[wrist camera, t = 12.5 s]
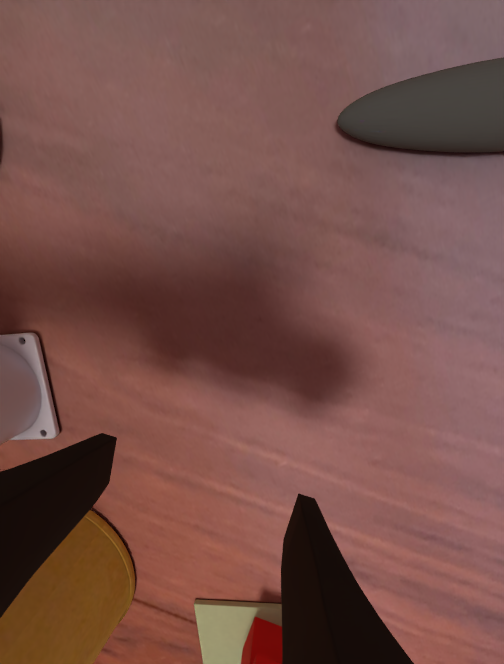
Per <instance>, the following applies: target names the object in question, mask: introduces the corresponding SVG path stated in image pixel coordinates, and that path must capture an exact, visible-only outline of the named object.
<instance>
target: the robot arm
mask: <svg viewBox="0 0 504 664" xmlns="http://www.w3.org/2000/svg"><path fill="white" fill-rule="evenodd" d="M24 339H25V341H26V343H25V342H24ZM45 431H46V432H47V433H46V432H45ZM58 435H59V427H58V423H57V418H56V414H55V409H54V405H53V400H52V396H51V391H50V387H49V382H48V378H47V373H46V369H45V364H44V360H43V355H42V351H41V346H40V342H39V338H38V336H37V335H36V334H35V333H19V334H6V335H0V445H1V444H3V443H5V442H7V441H8V440H24V439H53V438H55V437H56V436H58ZM116 440H117V438H116V437H113V436H110V435H107V434H103V433H101V434H99V435H96V436H93V437H91V438H88V439H86V440H84V441H81V442H79V443H76V444H74V445H72V446H69V447H67V448H64V449H62V450H59V451H57V452H54V453H52V454H49V455H47V456H44V457H42V458H39V459H36V460H33V461H31V462H28V463H25V464H22V465H20V466H17V467H14V468H11V469H8V470H5V471H2V472H0V618H1V617H2V615H3V614H4V613H5V611H6V610H7V609H8V607H9V606H10V605H11V603H12V602H13V601H14V599H15V598H16V597H17V595H18V594H19V593H20V591H21V590H22V589H23V587H24V586H25V585H26V583H27V582H28V581H29V580H30V578H31V577H32V576H33V575H34V574H35V572H36V571H37V570H38V569H39V568H40V566H41V565H42V564H43V563H44V562H45V561H46V560H47V558H48V557H49V556H50V555H51V554H52V553H53V552H54V550H55V549H56V548H57V547H58V546H59V545H60V544H61V542H62V541H63V540H64V539H65V538H66V537H67V536H68V535H69V533H70V532H71V531H72V530H73V529H74V528H75V527H76V525H77V524H78V523H79V522H80V521H81V520H82V519H83V517H84V516H85V515H86V514H87V513H88V512H89V510H90V509H91V508H92V507H93V505H94V504H95V503H96V501H97V500H98V498H99V497H100V495H101V494H102V493H103V491H104V490H105V488H106V487H107V485H108V484H109V481H110V475H111V469H112V463H113V457H114V451H115V445H116ZM281 601H282V664H414V663H413V662H412V661H411V659H410V658H409V657H408V655H407V654H406V653H405V651H404V650H403V649H402V647H401V646H400V645H399V643H398V642H397V641H396V639H395V638H394V637H393V635H392V634H391V633H390V631H389V630H388V628H387V627H386V626H385V624H384V623H383V621H382V620H381V619H380V617H379V616H378V614H377V613H376V611H375V610H374V608H373V607H372V605H371V604H370V602H369V600H368V599H367V597H366V596H365V594H364V593H363V591H362V590H361V588H360V586H359V585H358V583H357V581H356V580H355V578H354V576H353V574H352V573H351V571H350V569H349V567H348V565H347V564H346V562H345V560H344V558H343V556H342V554H341V552H340V550H339V548H338V546H337V544H336V542H335V541H334V538H333V536H332V534H331V532H330V530H329V528H328V526H327V524H326V522H325V520H324V517H323V515H322V513H321V511H320V509H319V506H318V504H317V502H316V500H315V499H314V498H311V497H308V496H304V495H301V494H298V497H297V500H296V503H295V506H294V509H293V512H292V515H291V518H290V521H289V524H288V527H287V530H286V533H285V537H284V542H283V553H282V565H281Z"/></svg>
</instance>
